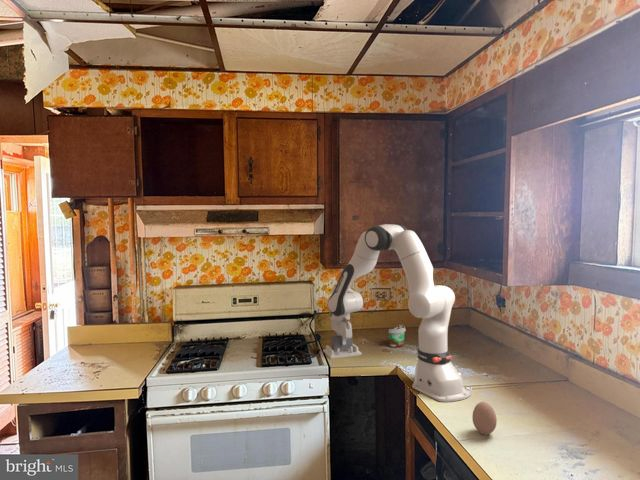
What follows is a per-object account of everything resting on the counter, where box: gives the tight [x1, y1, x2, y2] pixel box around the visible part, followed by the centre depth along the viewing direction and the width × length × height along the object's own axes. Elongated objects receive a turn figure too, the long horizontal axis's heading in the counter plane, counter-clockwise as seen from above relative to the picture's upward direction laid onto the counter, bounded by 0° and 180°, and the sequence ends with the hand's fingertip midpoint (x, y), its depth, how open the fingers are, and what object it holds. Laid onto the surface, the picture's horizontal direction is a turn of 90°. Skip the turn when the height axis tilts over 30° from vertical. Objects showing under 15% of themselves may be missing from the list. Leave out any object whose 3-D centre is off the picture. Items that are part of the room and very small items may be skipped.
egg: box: [471, 401, 498, 436], centre depth 118 cm, size 7×7×10 cm
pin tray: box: [322, 343, 363, 360], centre depth 195 cm, size 12×16×4 cm
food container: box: [388, 323, 407, 349], centre depth 204 cm, size 12×6×10 cm, turn 143°
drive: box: [330, 334, 354, 350], centre depth 195 cm, size 4×10×6 cm, turn 108°
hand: (341, 342), depth 195 cm, fingers closed on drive, 4 cm apart
